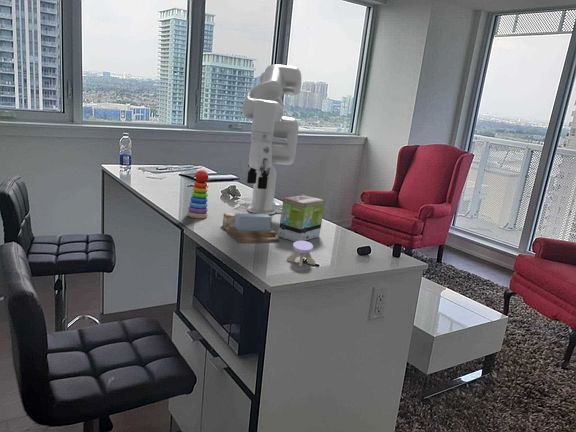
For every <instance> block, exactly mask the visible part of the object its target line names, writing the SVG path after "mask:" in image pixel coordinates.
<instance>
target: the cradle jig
mask: <svg viewBox="0 0 576 432" xmlns="http://www.w3.org/2000/svg"><path fill="white" fill-rule="evenodd" d="M224 230H225V231H226V233H228V234H229V235H230V234H231V235H230V236H232V237H233V238H234V239H235V240H236V241H238V243H279V242H280V240H281V238H279V236H277V232H276V231H275V230H273V229H272V228H270V231H237V230H236V229H234V225H228V227H224Z"/></svg>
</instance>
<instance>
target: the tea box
mask: <svg viewBox="0 0 576 432" xmlns="http://www.w3.org/2000/svg"><path fill="white" fill-rule="evenodd" d="M325 203H326V200H324V199H322V198H318V197H314V196H310V195H305V194H302V195H297V196H288V197H283V201H282V208H281V213H280V219H279V220H280V221H279V225H278V226H279V227H278V232H277V237H278V238H279V237H280V238H283V239H286V240H289V241H292V242H296V241H308V240H312V239H315V238H319V237H320V236H321V235H320V234H321V231H322V230H321V229H322V223H323V215H324V209H325V206H326V205H325Z"/></svg>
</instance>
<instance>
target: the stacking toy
mask: <svg viewBox="0 0 576 432" xmlns="http://www.w3.org/2000/svg"><path fill="white" fill-rule="evenodd" d="M194 178H195V180H196V181H195V182H194V184H193V185H194V186H193V188H192V193H191V195H192V196H191V197H190V202H189V206H188V207H187V208H188V211H187V213H186V214H187V216H188V217H190V218H193V219H206V218H207V217H208V195H209V194H208V193H207V192H208V189H207V187H208V183H207V181H208V180H209V173H208V172H207V171H206V170H205V169H200V170H199V169H198V170H197V171H196V173H195V175H194Z"/></svg>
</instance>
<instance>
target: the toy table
mask: <svg viewBox="0 0 576 432" xmlns="http://www.w3.org/2000/svg"><path fill="white" fill-rule="evenodd" d="M313 249H314V244H313V243H312V242H310V241H308V240H305V241H296V242H295V241H293V243H292V250H294V251H293V253H291V254H290V255H288V256H287V257H286V261H287V262H293V263H294V262H296V259H297V258H299V263H298V267H299V268H300V267H301V268H302V267H303V261H304V258H305V259H306V262H307V265H314V266H315V265H316V263H317V262H316V260H315V258H313V256H311V252H313V251H314V250H313Z"/></svg>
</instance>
